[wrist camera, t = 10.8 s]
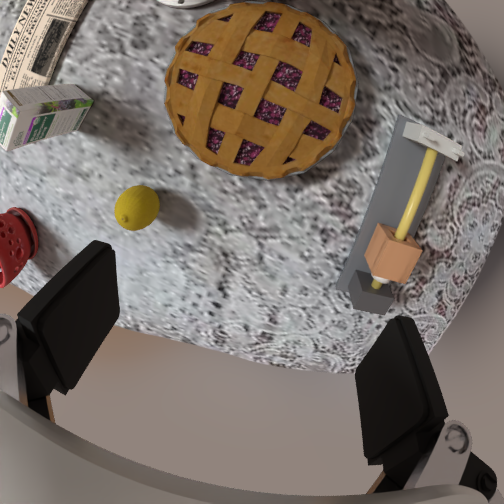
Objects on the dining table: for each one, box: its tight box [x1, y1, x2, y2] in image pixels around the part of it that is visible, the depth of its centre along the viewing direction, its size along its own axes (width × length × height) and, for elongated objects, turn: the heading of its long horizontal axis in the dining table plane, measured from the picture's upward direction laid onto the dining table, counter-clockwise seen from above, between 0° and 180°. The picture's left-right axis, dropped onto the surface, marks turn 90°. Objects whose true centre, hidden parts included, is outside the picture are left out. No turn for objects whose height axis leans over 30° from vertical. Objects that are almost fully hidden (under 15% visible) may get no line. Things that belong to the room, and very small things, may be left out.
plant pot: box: [0, 207, 38, 288], centre depth 39 cm, size 13×13×12 cm
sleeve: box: [364, 223, 422, 284], centre depth 33 cm, size 5×5×5 cm
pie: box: [164, 1, 359, 180], centre depth 28 cm, size 22×22×5 cm
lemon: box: [115, 185, 160, 231], centre depth 35 cm, size 6×6×8 cm
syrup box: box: [0, 84, 94, 151], centre depth 26 cm, size 6×6×14 cm
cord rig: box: [336, 115, 464, 315], centre depth 32 cm, size 26×8×7 cm, turn 168°
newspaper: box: [0, 0, 89, 97], centre depth 24 cm, size 37×19×3 cm, turn 147°
